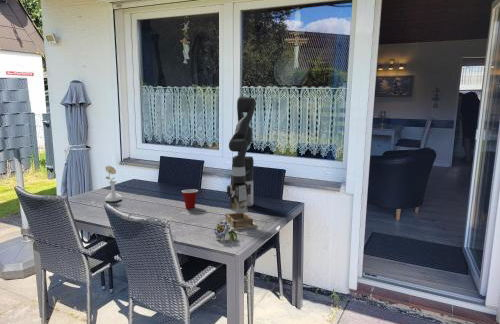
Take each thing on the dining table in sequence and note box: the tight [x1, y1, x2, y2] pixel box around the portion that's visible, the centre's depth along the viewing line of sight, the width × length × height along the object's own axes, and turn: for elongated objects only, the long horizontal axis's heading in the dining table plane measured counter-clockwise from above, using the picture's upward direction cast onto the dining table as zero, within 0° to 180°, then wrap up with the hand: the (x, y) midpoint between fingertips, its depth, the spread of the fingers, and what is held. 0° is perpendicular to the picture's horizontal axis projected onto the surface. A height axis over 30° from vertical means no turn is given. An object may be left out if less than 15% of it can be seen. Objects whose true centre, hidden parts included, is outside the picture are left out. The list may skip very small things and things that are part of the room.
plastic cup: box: [181, 188, 199, 210], centre depth 243 cm, size 11×11×12 cm
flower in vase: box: [104, 165, 123, 203], centre depth 260 cm, size 13×11×25 cm
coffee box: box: [229, 182, 249, 214], centre depth 210 cm, size 9×6×16 cm
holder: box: [221, 212, 258, 231], centre depth 213 cm, size 16×16×4 cm
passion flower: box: [212, 220, 240, 243], centre depth 191 cm, size 11×11×12 cm
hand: (238, 202), depth 211 cm, fingers closed on coffee box, 7 cm apart
